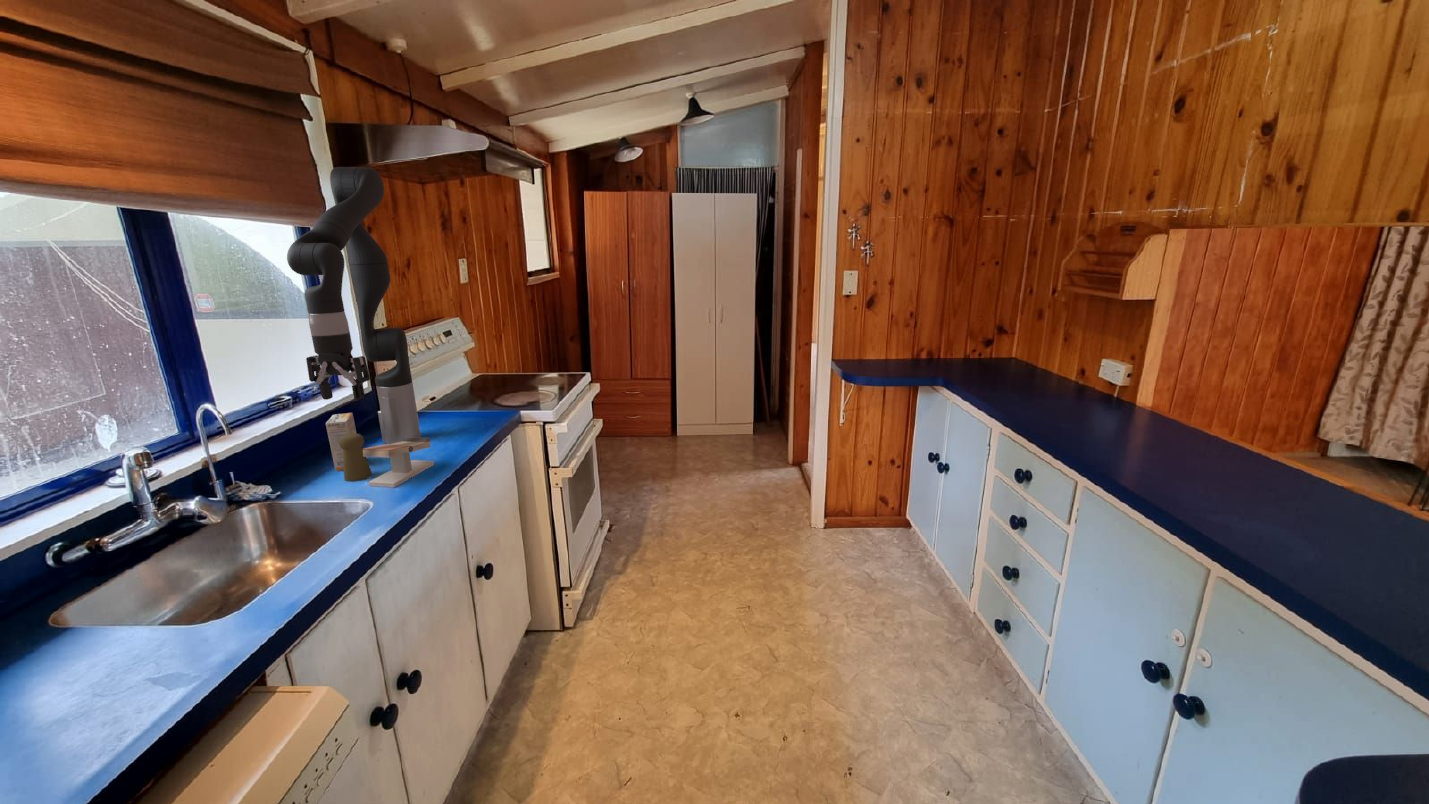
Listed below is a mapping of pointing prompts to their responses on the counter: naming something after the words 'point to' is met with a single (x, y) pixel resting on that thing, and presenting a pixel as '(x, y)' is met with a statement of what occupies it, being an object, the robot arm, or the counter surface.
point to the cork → (354, 458)
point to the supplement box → (339, 435)
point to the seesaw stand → (400, 471)
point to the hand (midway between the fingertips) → (343, 399)
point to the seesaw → (398, 447)
